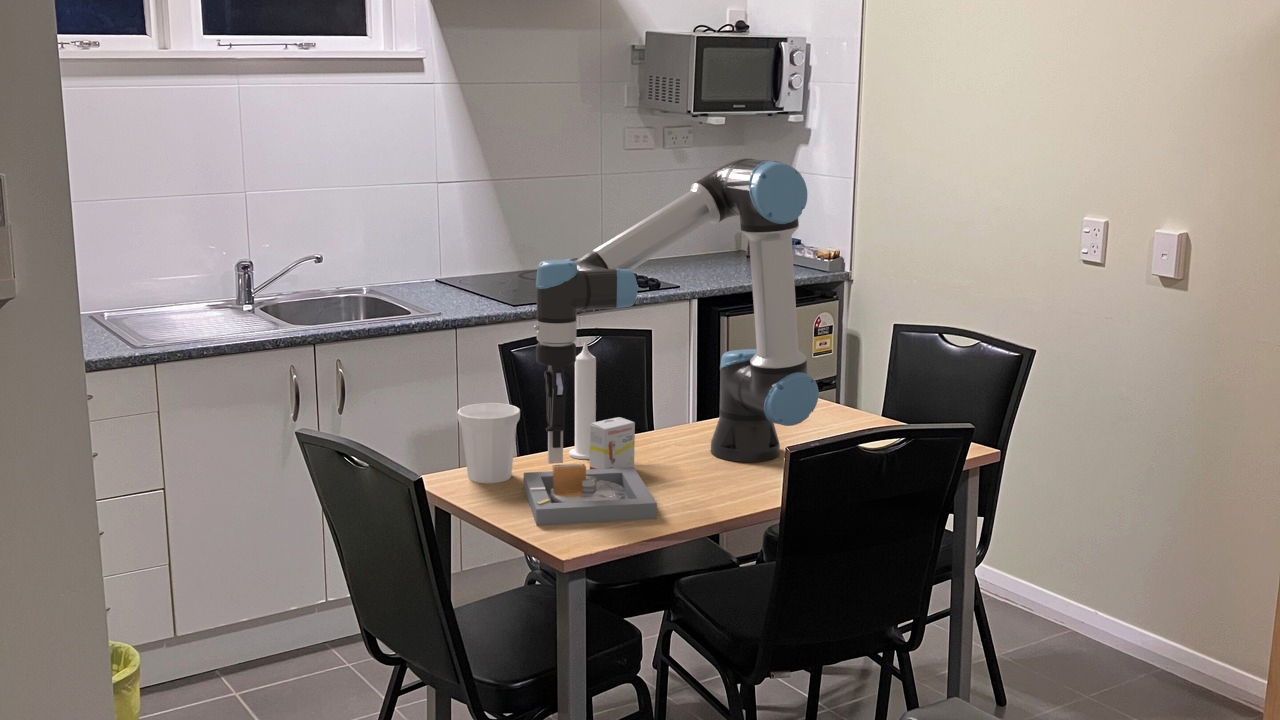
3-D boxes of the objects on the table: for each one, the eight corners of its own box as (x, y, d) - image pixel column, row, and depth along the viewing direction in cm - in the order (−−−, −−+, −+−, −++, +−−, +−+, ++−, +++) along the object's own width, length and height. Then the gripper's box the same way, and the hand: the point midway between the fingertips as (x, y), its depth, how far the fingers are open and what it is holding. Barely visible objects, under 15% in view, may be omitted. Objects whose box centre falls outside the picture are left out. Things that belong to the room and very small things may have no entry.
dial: (617, 487, 244) (617, 451, 243) (630, 511, 231) (631, 473, 229) (546, 491, 242) (546, 455, 240) (555, 515, 228) (555, 477, 227)
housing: (633, 488, 249) (634, 465, 248) (656, 526, 228) (656, 501, 227) (523, 494, 245) (523, 471, 244) (536, 533, 224) (536, 507, 223)
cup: (469, 472, 258) (467, 401, 255) (527, 476, 257) (527, 404, 253) (450, 491, 246) (449, 416, 243) (511, 495, 245) (511, 420, 241)
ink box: (604, 484, 252) (604, 428, 249) (588, 479, 255) (588, 423, 253) (635, 476, 257) (636, 421, 255) (619, 470, 261) (619, 416, 258)
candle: (607, 456, 271) (607, 344, 265) (577, 461, 267) (578, 347, 262) (592, 448, 277) (592, 338, 271) (563, 452, 273) (563, 341, 268)
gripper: (532, 336, 241) (532, 453, 246) (540, 349, 229) (539, 472, 234) (571, 335, 243) (569, 452, 247) (580, 348, 230) (579, 471, 235)
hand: (555, 462), depth 241 cm, fingers closed
